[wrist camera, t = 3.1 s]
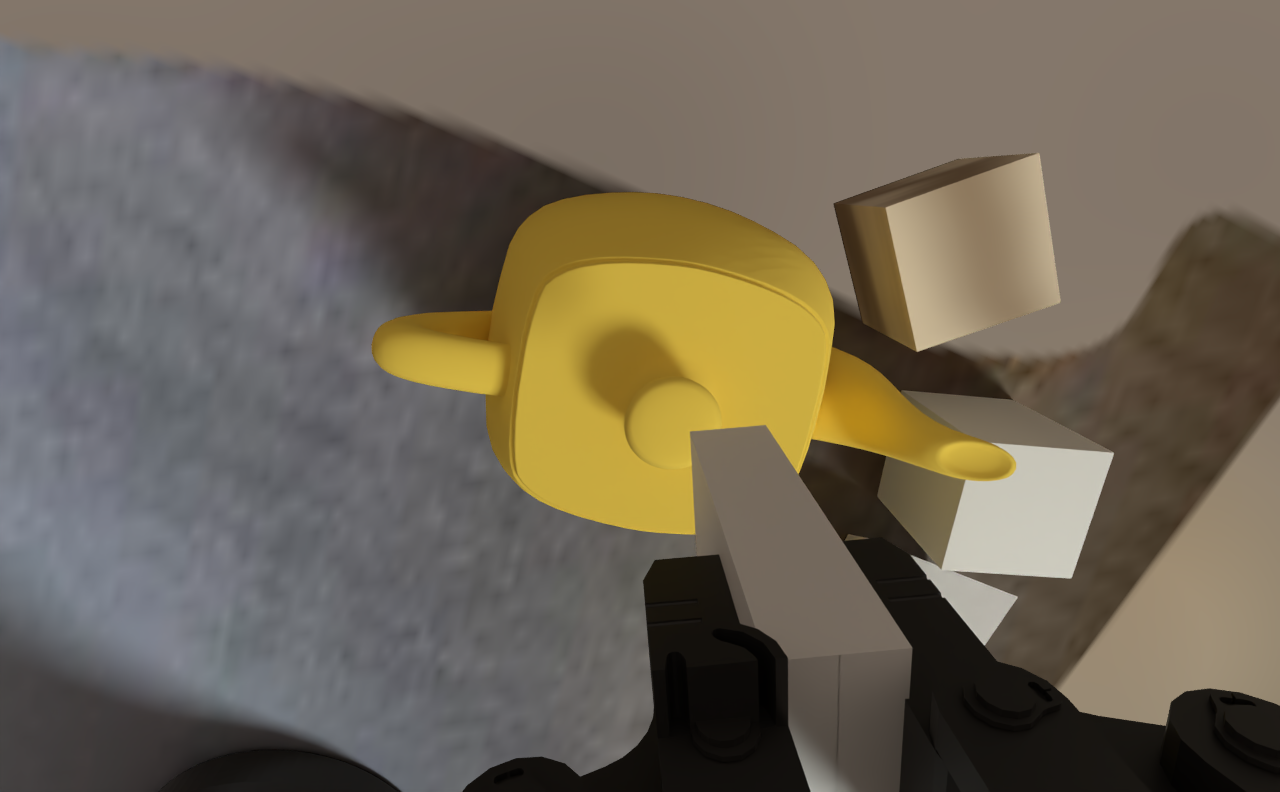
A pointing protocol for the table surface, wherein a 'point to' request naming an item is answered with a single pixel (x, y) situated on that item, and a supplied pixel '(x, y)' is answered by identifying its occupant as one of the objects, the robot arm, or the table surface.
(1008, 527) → the white block
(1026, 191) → the beech block
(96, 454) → the table surface
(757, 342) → the teapot
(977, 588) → the figurine
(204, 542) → the table surface
